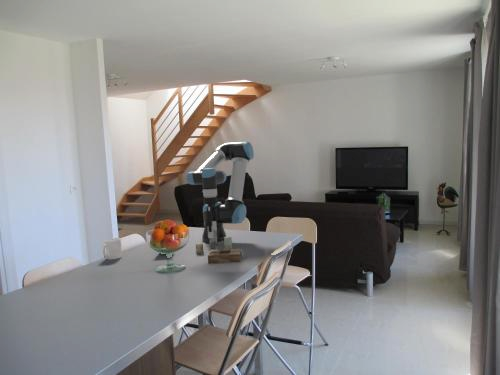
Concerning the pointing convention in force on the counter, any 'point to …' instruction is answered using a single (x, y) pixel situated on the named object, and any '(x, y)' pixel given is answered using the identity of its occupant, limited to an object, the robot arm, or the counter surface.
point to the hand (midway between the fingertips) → (212, 235)
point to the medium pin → (228, 242)
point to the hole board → (225, 256)
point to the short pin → (199, 248)
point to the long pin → (213, 241)
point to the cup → (112, 248)
